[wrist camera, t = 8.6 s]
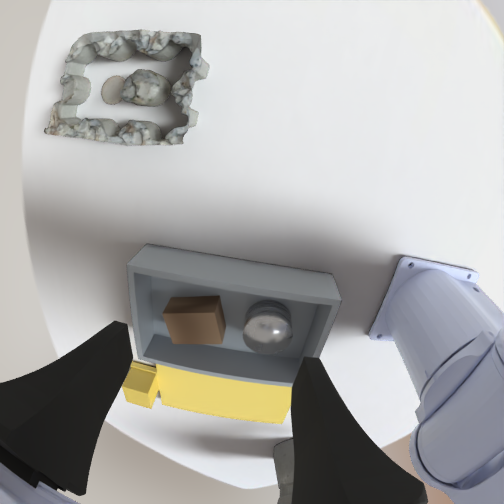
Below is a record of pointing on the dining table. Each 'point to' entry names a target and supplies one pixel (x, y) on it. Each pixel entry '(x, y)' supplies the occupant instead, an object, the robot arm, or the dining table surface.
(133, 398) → the lid
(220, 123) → the dining table surface
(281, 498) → the coffeepot
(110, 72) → the dining table surface
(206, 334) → the walnut block
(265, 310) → the grey rounded puck
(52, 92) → the dining table surface
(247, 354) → the tub
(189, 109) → the egg carton
